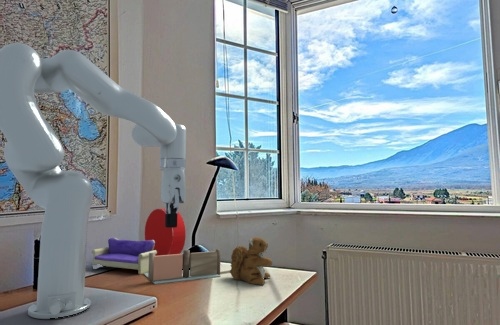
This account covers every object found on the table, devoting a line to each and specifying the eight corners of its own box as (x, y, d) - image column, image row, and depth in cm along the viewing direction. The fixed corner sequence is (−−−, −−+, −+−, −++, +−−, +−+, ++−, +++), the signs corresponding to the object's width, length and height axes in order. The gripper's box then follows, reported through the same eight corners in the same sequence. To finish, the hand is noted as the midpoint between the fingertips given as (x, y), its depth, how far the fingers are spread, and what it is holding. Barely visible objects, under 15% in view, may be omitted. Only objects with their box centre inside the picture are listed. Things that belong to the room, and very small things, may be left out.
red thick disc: (184, 262, 134) (186, 209, 136) (171, 264, 130) (173, 209, 131) (156, 254, 148) (157, 207, 149) (143, 256, 143) (145, 207, 145)
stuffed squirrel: (265, 286, 102) (266, 240, 103) (222, 281, 108) (222, 237, 109) (275, 278, 112) (276, 236, 113) (235, 274, 117) (235, 233, 118)
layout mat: (220, 276, 113) (220, 275, 113) (154, 284, 102) (154, 283, 102) (203, 267, 125) (203, 266, 125) (143, 274, 114) (143, 272, 114)
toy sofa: (89, 269, 120) (91, 239, 121) (108, 264, 128) (109, 236, 129) (141, 275, 113) (142, 243, 114) (157, 270, 121) (158, 240, 122)
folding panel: (182, 277, 109) (183, 251, 109) (148, 281, 104) (149, 253, 104) (180, 276, 110) (181, 250, 111) (147, 280, 105) (148, 252, 106)
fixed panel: (221, 274, 115) (221, 248, 116) (183, 279, 109) (184, 251, 109) (218, 273, 117) (219, 247, 117) (181, 277, 110) (182, 250, 111)
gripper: (193, 164, 100) (192, 229, 99) (177, 167, 113) (175, 224, 112) (167, 163, 97) (165, 230, 95) (153, 166, 110) (151, 225, 108)
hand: (171, 227), depth 104 cm, fingers closed
